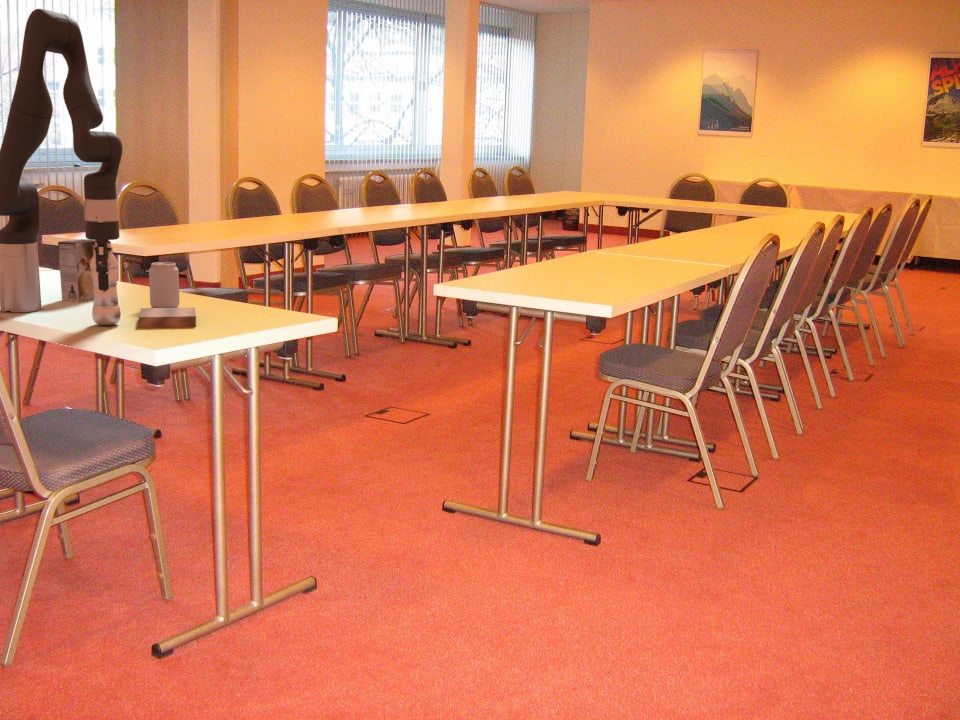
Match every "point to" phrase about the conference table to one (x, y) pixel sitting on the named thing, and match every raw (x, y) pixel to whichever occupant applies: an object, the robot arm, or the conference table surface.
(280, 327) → the conference table surface
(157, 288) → the can
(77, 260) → the coffee box
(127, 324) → the conference table surface
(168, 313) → the walnut block
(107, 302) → the plastic bottle
